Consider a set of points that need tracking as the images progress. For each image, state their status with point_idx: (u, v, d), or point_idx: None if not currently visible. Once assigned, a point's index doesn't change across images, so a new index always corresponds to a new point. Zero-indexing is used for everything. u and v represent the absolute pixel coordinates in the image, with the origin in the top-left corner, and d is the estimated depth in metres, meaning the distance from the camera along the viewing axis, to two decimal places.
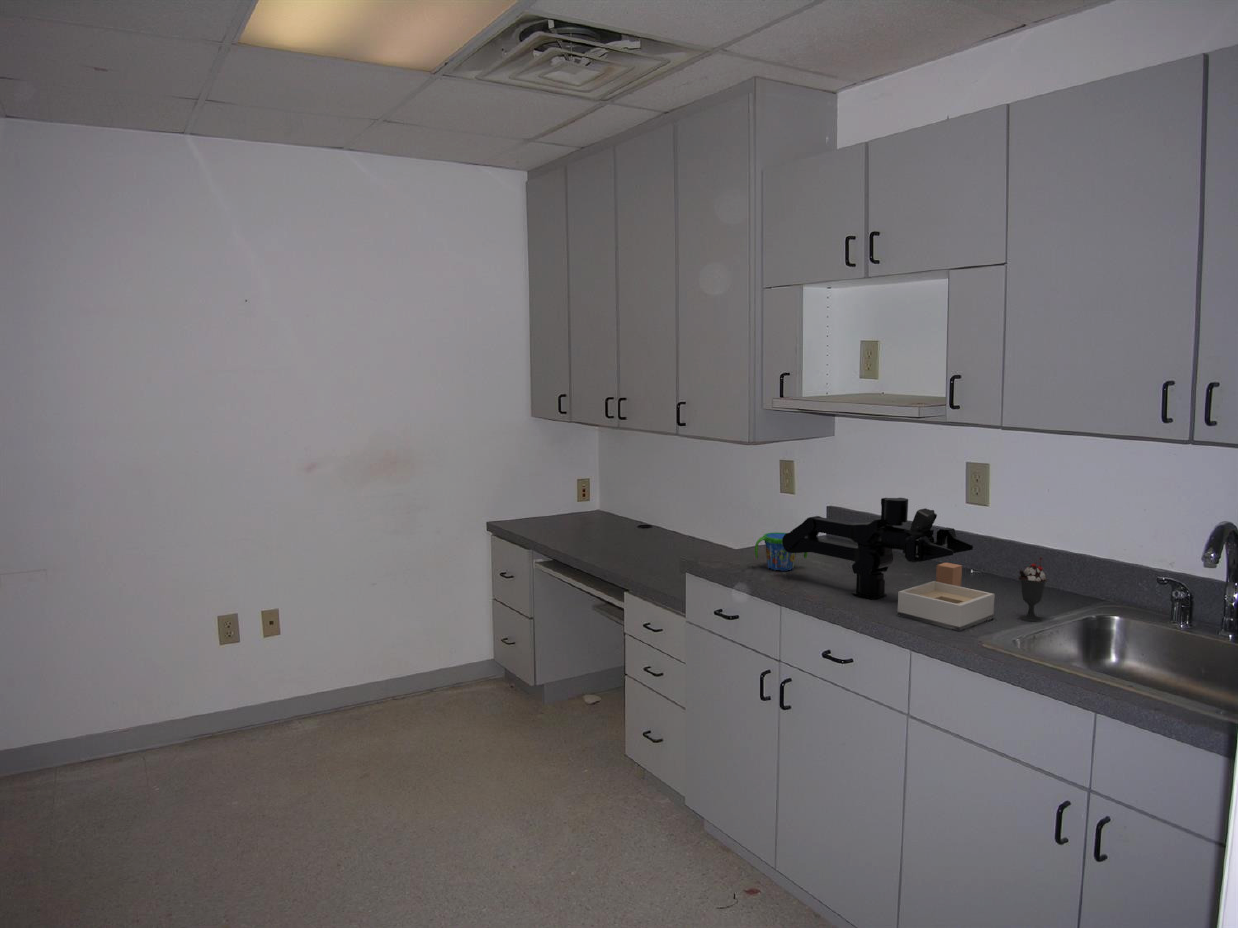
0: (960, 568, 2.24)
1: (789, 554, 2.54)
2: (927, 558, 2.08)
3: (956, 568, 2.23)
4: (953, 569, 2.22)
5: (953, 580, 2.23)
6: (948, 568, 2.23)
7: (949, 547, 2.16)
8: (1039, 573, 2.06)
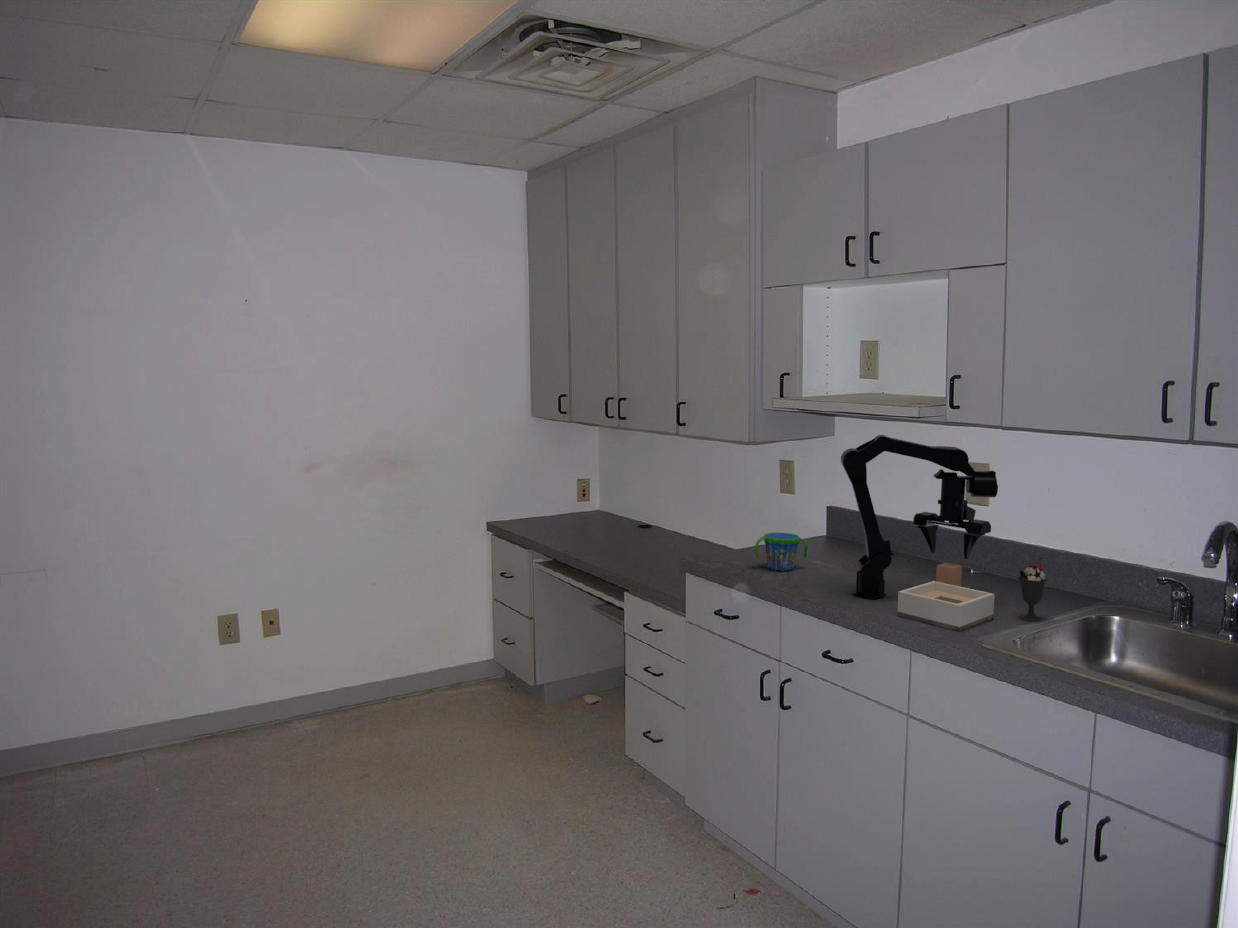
0: (960, 568, 2.24)
1: (789, 554, 2.54)
2: (970, 540, 2.18)
3: (956, 568, 2.23)
4: (953, 569, 2.22)
5: (953, 580, 2.23)
6: (948, 568, 2.23)
7: (930, 529, 2.27)
8: (1039, 573, 2.06)
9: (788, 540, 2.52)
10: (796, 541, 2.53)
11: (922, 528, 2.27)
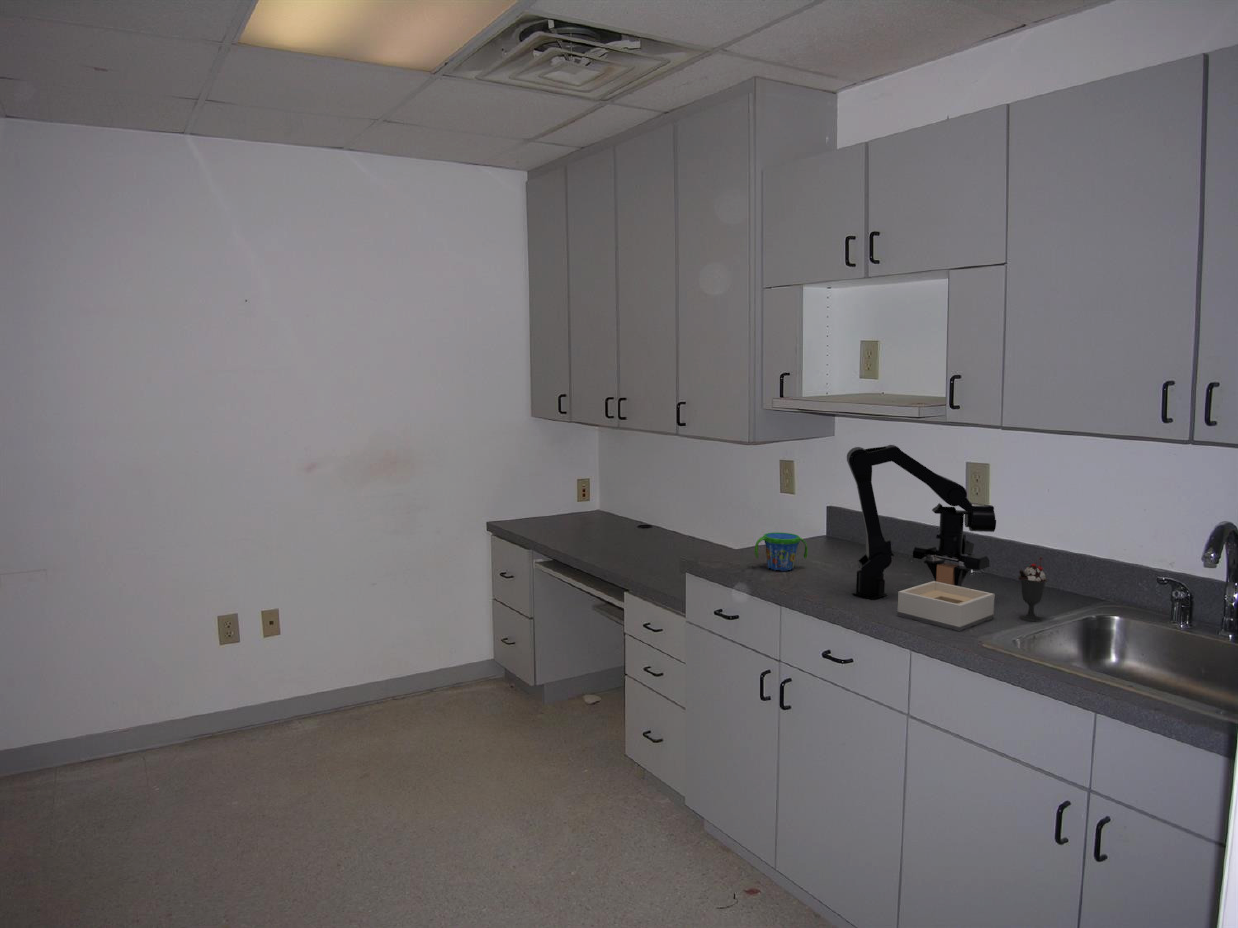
0: None
1: (789, 554, 2.54)
2: (960, 573, 2.21)
3: None
4: (953, 569, 2.22)
5: (953, 580, 2.23)
6: (948, 568, 2.23)
7: (937, 564, 2.27)
8: (1039, 573, 2.06)
9: (788, 540, 2.52)
10: (796, 541, 2.53)
11: (928, 563, 2.26)
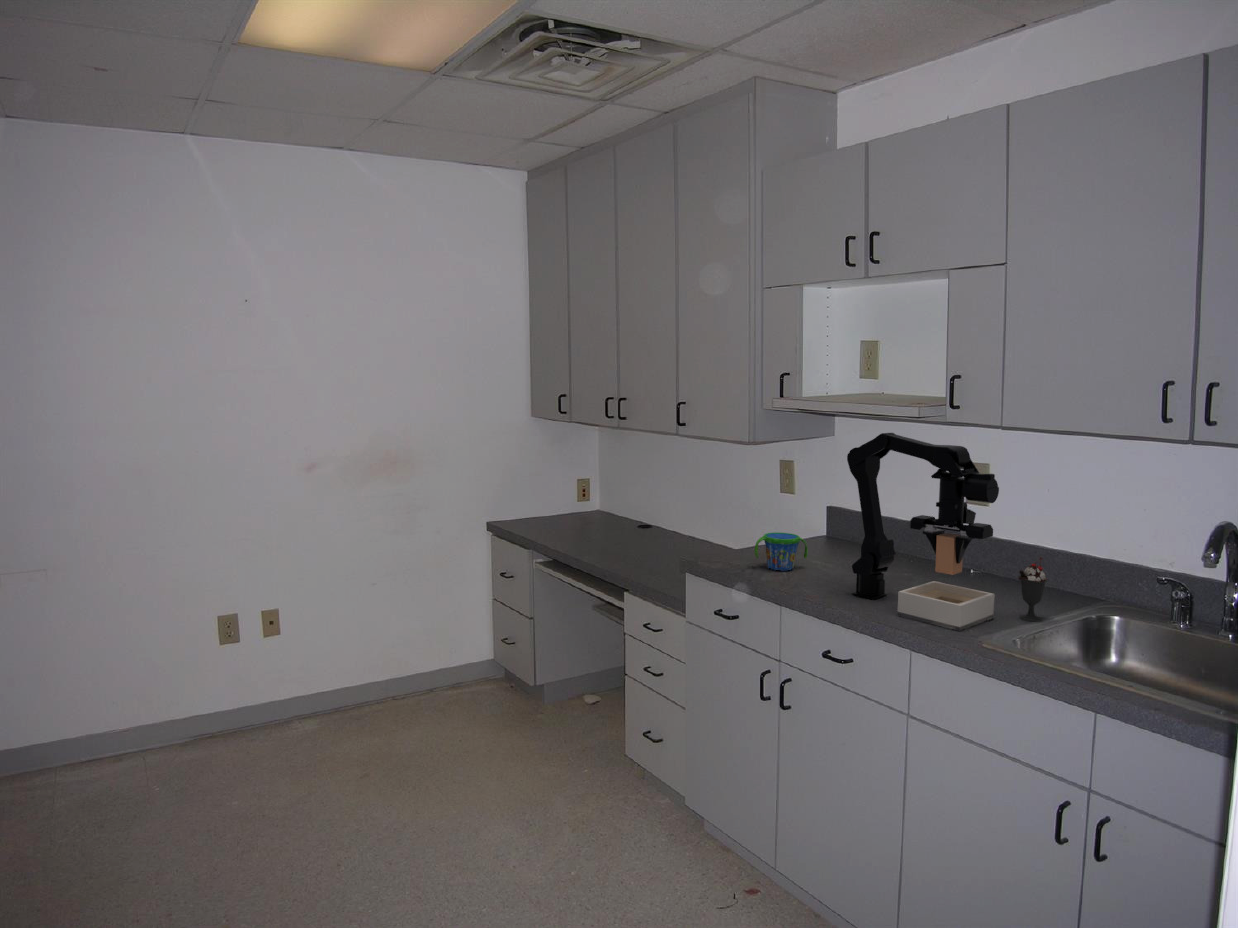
0: None
1: (789, 554, 2.54)
2: (962, 543, 2.06)
3: None
4: (954, 539, 2.07)
5: (954, 551, 2.08)
6: (949, 538, 2.08)
7: (936, 535, 2.12)
8: (1039, 573, 2.06)
9: (788, 540, 2.52)
10: (796, 541, 2.53)
11: (928, 534, 2.11)
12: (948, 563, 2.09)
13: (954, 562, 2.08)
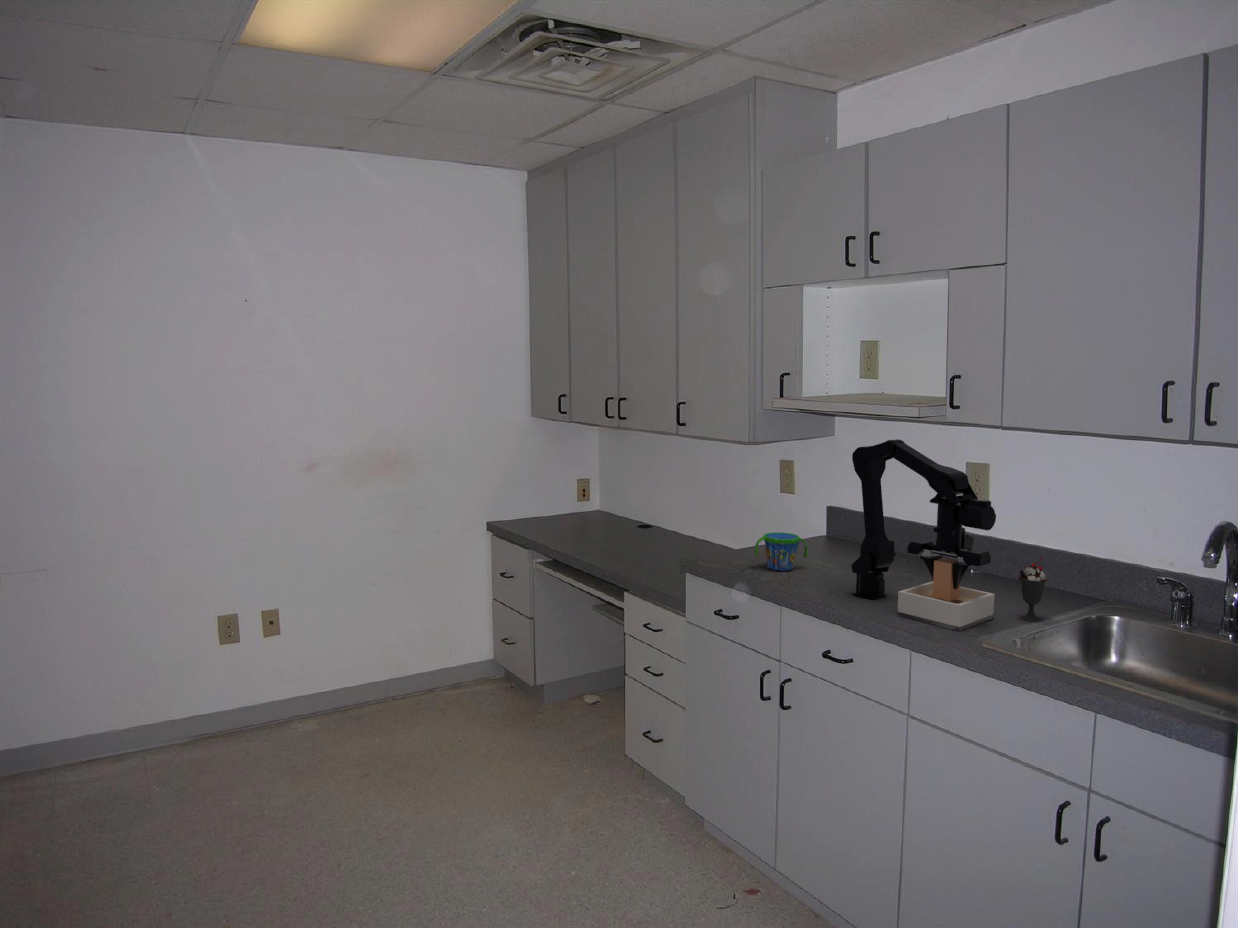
0: None
1: (789, 554, 2.54)
2: (959, 569, 2.04)
3: None
4: (952, 565, 2.06)
5: (951, 577, 2.06)
6: (946, 564, 2.06)
7: (934, 560, 2.10)
8: (1039, 573, 2.06)
9: (788, 540, 2.52)
10: (796, 541, 2.53)
11: (925, 559, 2.10)
12: (945, 588, 2.07)
13: (951, 588, 2.06)
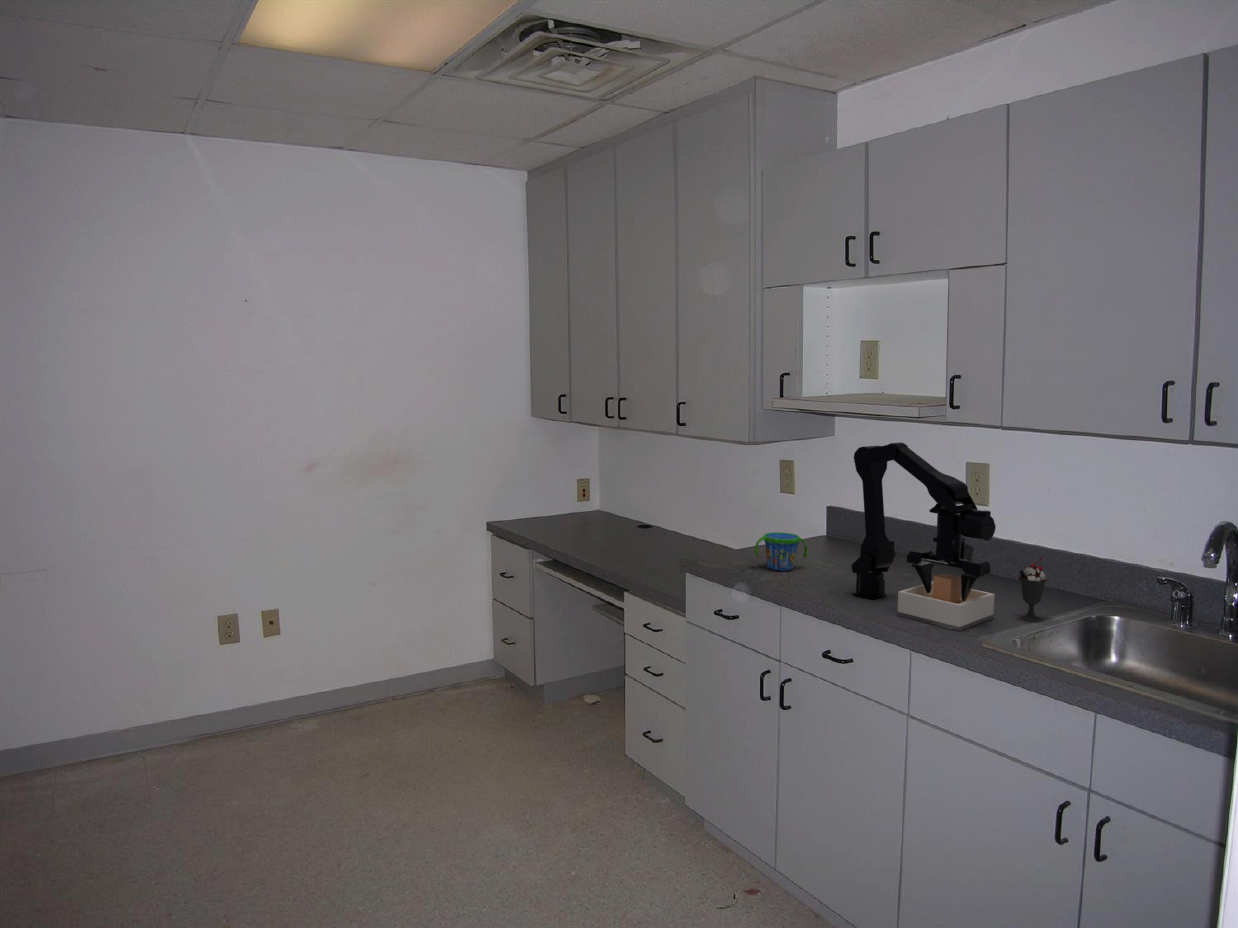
0: (958, 580, 2.08)
1: (789, 554, 2.54)
2: (968, 581, 2.03)
3: (954, 580, 2.07)
4: (951, 581, 2.06)
5: (951, 593, 2.06)
6: (946, 580, 2.07)
7: (925, 568, 2.12)
8: (1039, 573, 2.06)
9: (788, 540, 2.52)
10: (796, 541, 2.53)
11: (916, 567, 2.12)
12: None
13: None
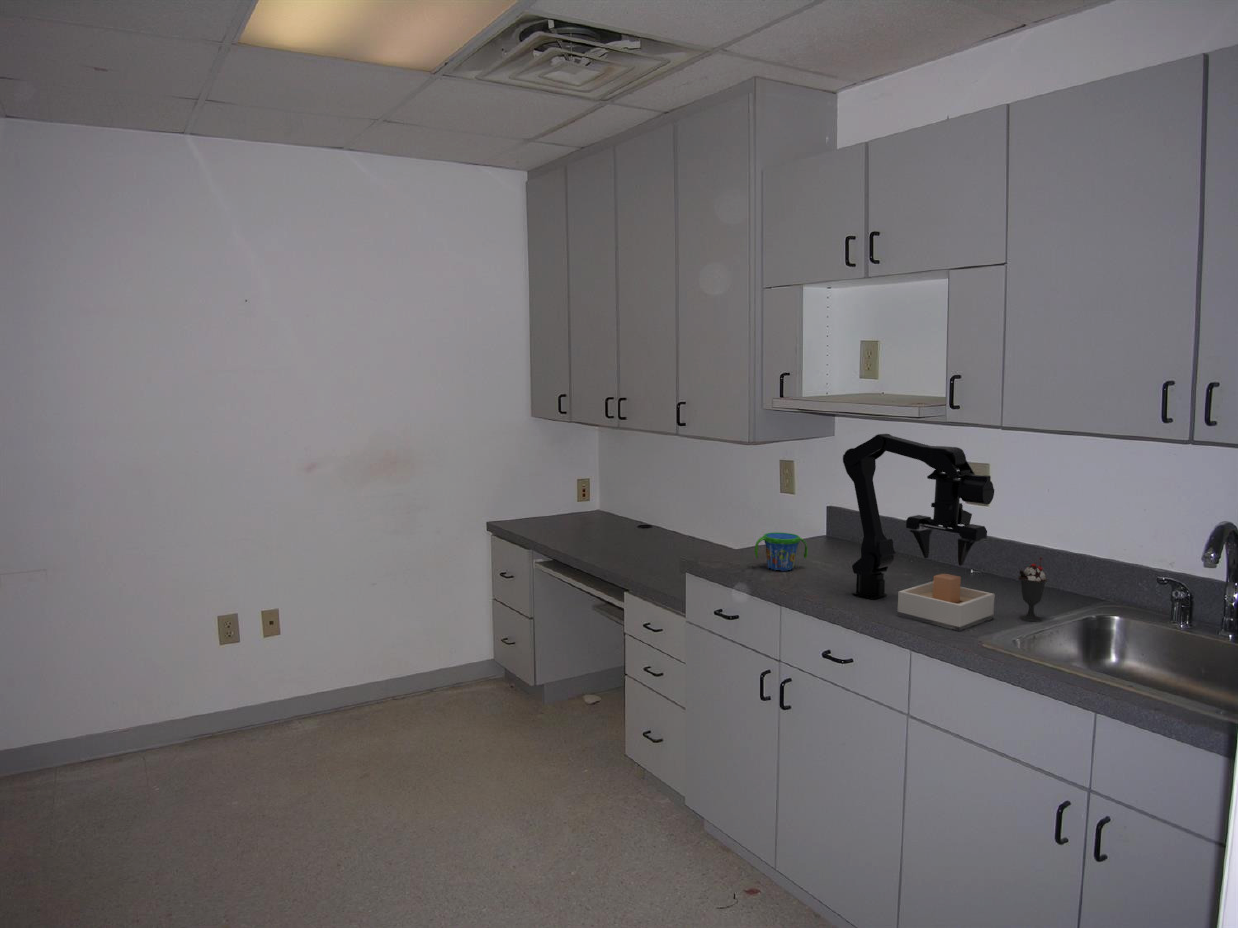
0: (958, 580, 2.08)
1: (789, 554, 2.54)
2: (964, 545, 2.06)
3: (954, 580, 2.07)
4: (951, 581, 2.06)
5: (951, 593, 2.06)
6: (946, 580, 2.07)
7: (923, 533, 2.15)
8: (1039, 573, 2.06)
9: (788, 540, 2.52)
10: (796, 541, 2.53)
11: (914, 532, 2.15)
12: None
13: None
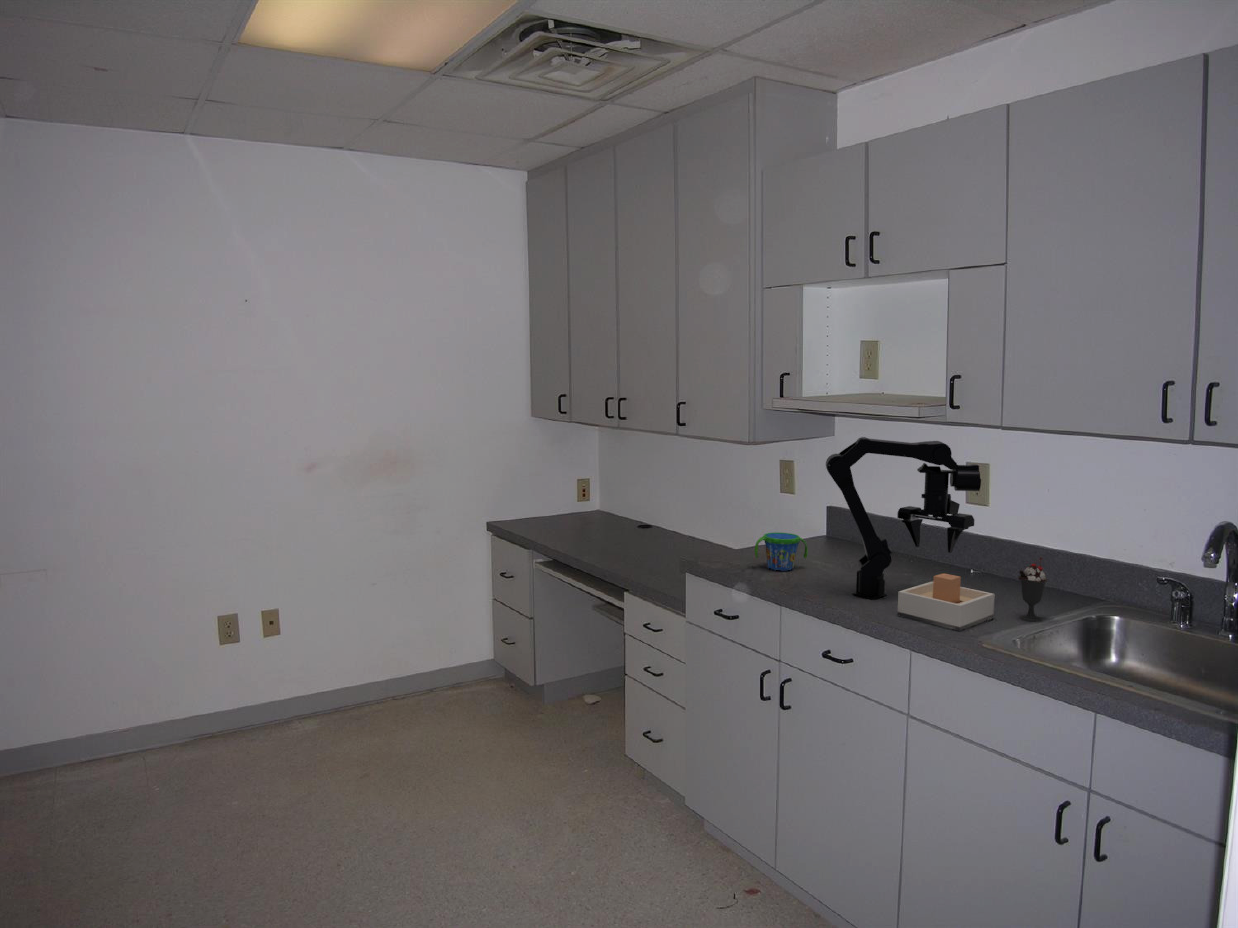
0: (958, 580, 2.08)
1: (789, 554, 2.54)
2: (953, 533, 2.18)
3: (954, 580, 2.07)
4: (951, 581, 2.06)
5: (951, 593, 2.06)
6: (946, 580, 2.07)
7: (914, 523, 2.27)
8: (1039, 573, 2.06)
9: (788, 540, 2.52)
10: (796, 541, 2.53)
11: (906, 522, 2.27)
12: None
13: None
